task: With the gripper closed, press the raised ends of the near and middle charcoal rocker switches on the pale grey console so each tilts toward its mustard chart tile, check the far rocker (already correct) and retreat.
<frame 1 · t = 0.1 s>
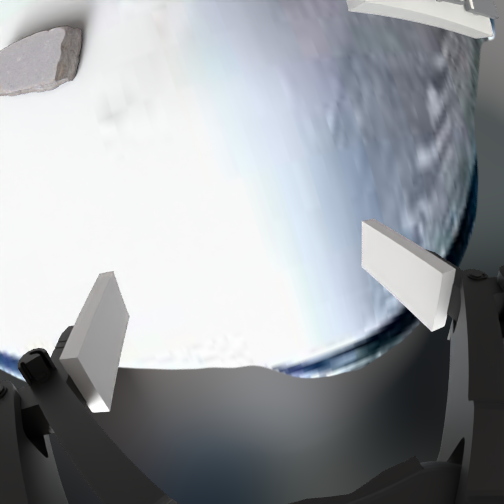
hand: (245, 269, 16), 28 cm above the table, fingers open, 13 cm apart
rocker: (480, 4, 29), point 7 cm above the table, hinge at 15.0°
decorative stone: (43, 70, 31), on the table
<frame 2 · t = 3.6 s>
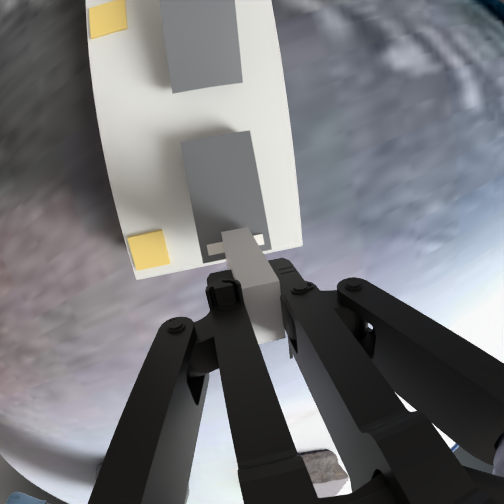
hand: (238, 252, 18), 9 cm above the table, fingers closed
decorative stone: (309, 465, 45), on the table
rocker middle: (200, 30, 14), point 7 cm above the table, hinge at 15.0°
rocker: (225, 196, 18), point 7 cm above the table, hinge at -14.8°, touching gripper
switch console: (183, 58, 21), on the table
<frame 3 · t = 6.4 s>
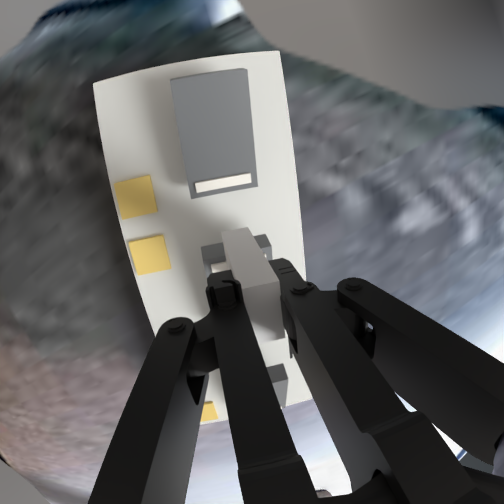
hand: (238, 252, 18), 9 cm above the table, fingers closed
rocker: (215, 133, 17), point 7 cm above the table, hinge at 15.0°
decorative stone: (308, 500, 50), on the table
rocker middle: (242, 291, 21), point 7 cm above the table, hinge at 13.0°, touching gripper
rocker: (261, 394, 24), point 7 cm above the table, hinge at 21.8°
switch console: (216, 254, 27), on the table
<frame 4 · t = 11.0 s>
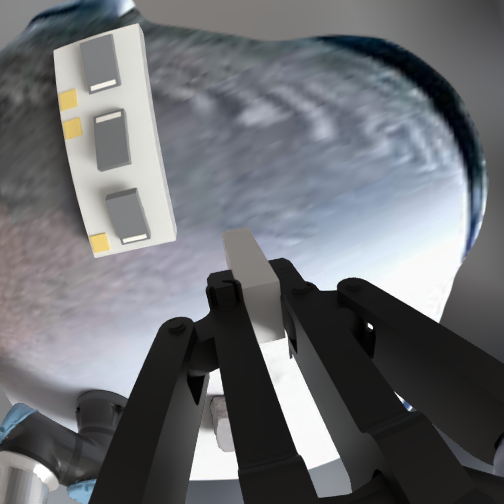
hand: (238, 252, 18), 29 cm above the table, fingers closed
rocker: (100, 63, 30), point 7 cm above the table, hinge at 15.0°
decorative stone: (229, 411, 64), on the table
rocker middle: (111, 139, 34), point 7 cm above the table, hinge at -20.1°
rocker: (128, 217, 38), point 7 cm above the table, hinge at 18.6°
switch console: (116, 139, 40), on the table
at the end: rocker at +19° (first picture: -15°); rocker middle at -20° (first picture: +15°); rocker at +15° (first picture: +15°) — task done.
